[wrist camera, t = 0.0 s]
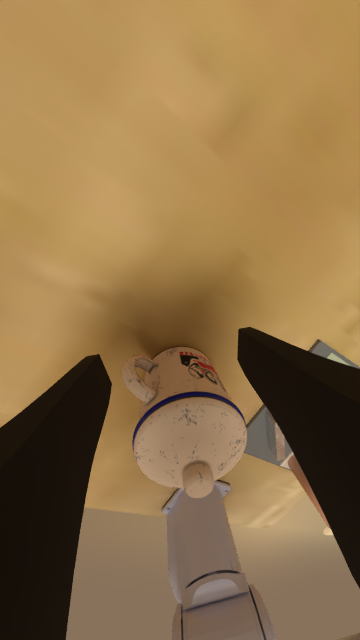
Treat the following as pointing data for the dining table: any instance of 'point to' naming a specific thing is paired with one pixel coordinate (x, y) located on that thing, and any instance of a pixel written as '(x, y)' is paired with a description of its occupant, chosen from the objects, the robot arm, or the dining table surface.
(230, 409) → the teacup with lid
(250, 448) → the board
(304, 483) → the peg
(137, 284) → the dining table surface
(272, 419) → the rails
